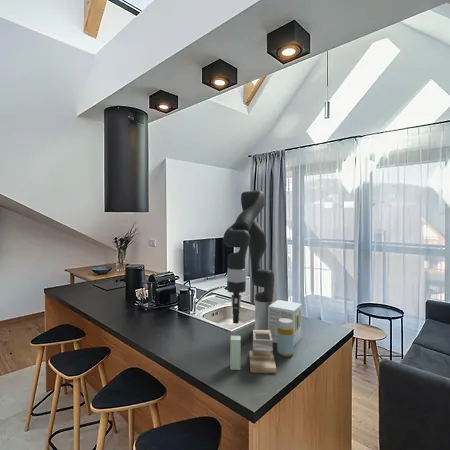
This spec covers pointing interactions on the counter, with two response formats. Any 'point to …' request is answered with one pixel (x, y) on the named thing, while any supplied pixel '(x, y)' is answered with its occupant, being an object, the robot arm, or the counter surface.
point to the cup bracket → (262, 352)
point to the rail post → (235, 352)
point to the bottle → (285, 337)
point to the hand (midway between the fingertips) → (236, 319)
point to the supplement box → (284, 311)
